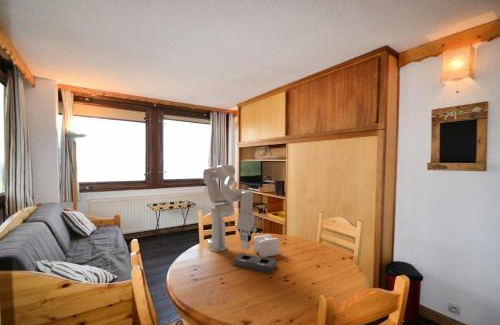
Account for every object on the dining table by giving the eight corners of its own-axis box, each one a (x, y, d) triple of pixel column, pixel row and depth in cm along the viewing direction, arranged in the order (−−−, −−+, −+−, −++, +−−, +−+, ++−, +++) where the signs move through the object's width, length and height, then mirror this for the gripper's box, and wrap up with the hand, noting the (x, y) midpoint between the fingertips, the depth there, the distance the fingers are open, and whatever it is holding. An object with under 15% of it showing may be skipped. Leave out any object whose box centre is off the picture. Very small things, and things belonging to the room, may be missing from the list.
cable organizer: (272, 249, 167) (272, 233, 167) (280, 255, 157) (280, 238, 157) (253, 253, 160) (253, 236, 160) (260, 258, 151) (260, 241, 151)
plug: (240, 249, 142) (241, 232, 141) (244, 246, 146) (244, 229, 146) (246, 250, 140) (246, 233, 140) (249, 247, 145) (250, 230, 144)
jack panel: (233, 265, 141) (233, 258, 141) (241, 259, 150) (241, 252, 150) (270, 273, 131) (270, 266, 131) (276, 266, 140) (276, 259, 140)
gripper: (231, 210, 143) (231, 240, 143) (256, 214, 136) (255, 244, 136) (237, 208, 150) (236, 236, 150) (261, 211, 143) (260, 240, 143)
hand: (245, 240), depth 143 cm, fingers closed on plug, 4 cm apart
